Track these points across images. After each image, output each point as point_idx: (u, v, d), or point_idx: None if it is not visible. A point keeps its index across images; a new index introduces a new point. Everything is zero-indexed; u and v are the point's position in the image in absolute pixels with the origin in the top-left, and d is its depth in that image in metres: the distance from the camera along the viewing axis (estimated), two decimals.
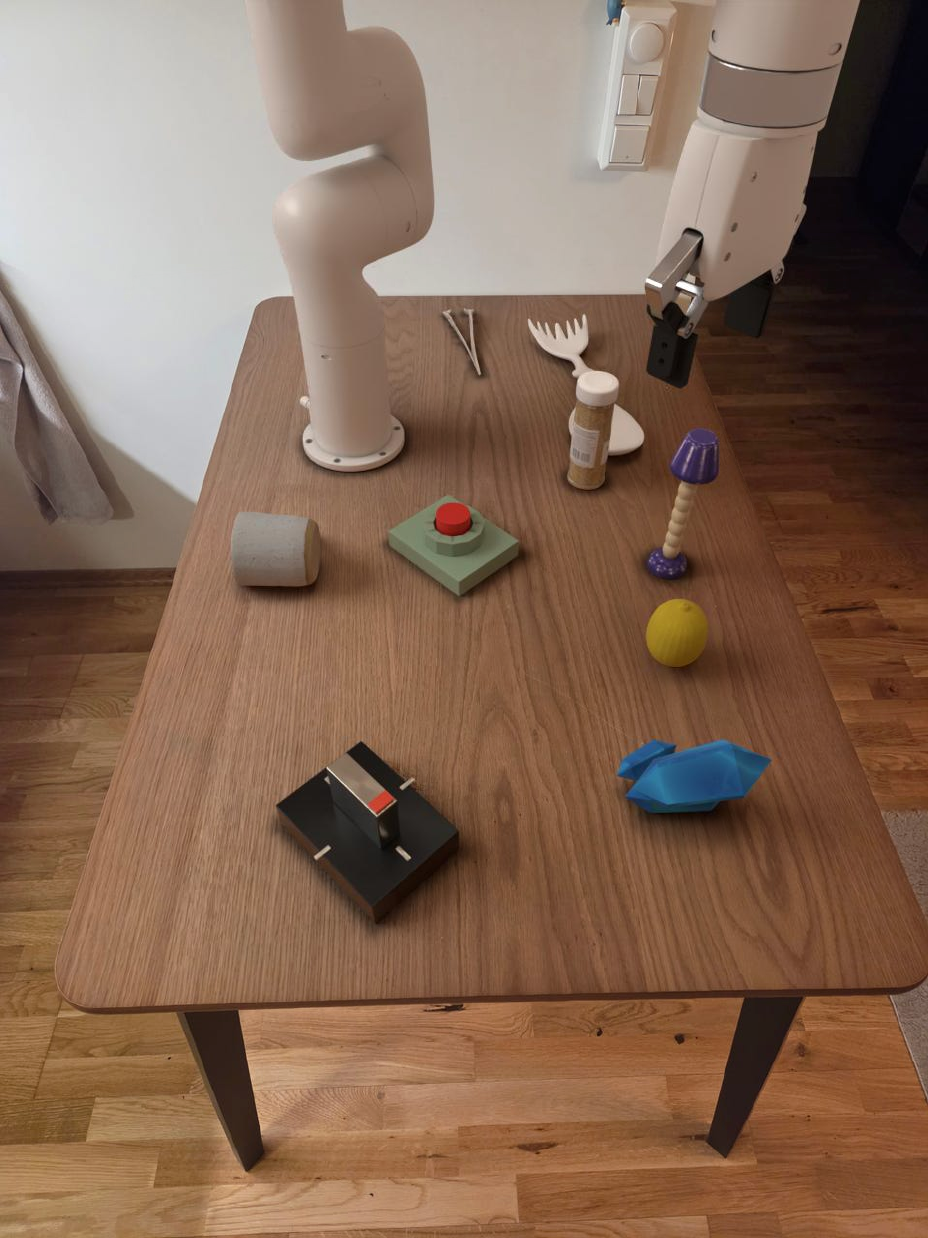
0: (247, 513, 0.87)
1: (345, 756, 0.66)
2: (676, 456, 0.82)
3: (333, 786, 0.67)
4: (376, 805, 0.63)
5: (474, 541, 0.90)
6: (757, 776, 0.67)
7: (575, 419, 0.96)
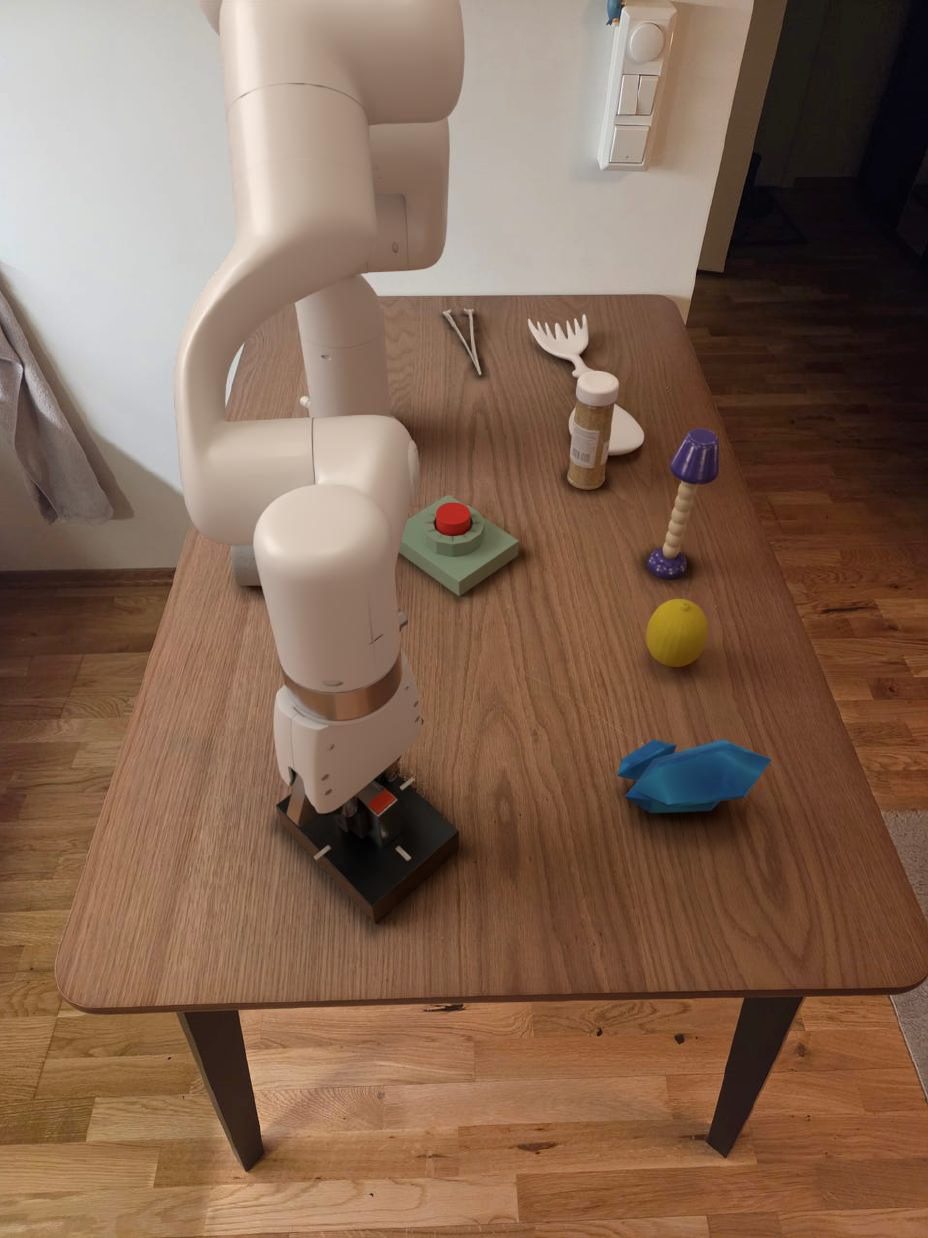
0: None
1: None
2: (676, 456, 0.82)
3: None
4: (377, 804, 0.63)
5: (474, 541, 0.90)
6: (757, 776, 0.67)
7: (575, 419, 0.96)
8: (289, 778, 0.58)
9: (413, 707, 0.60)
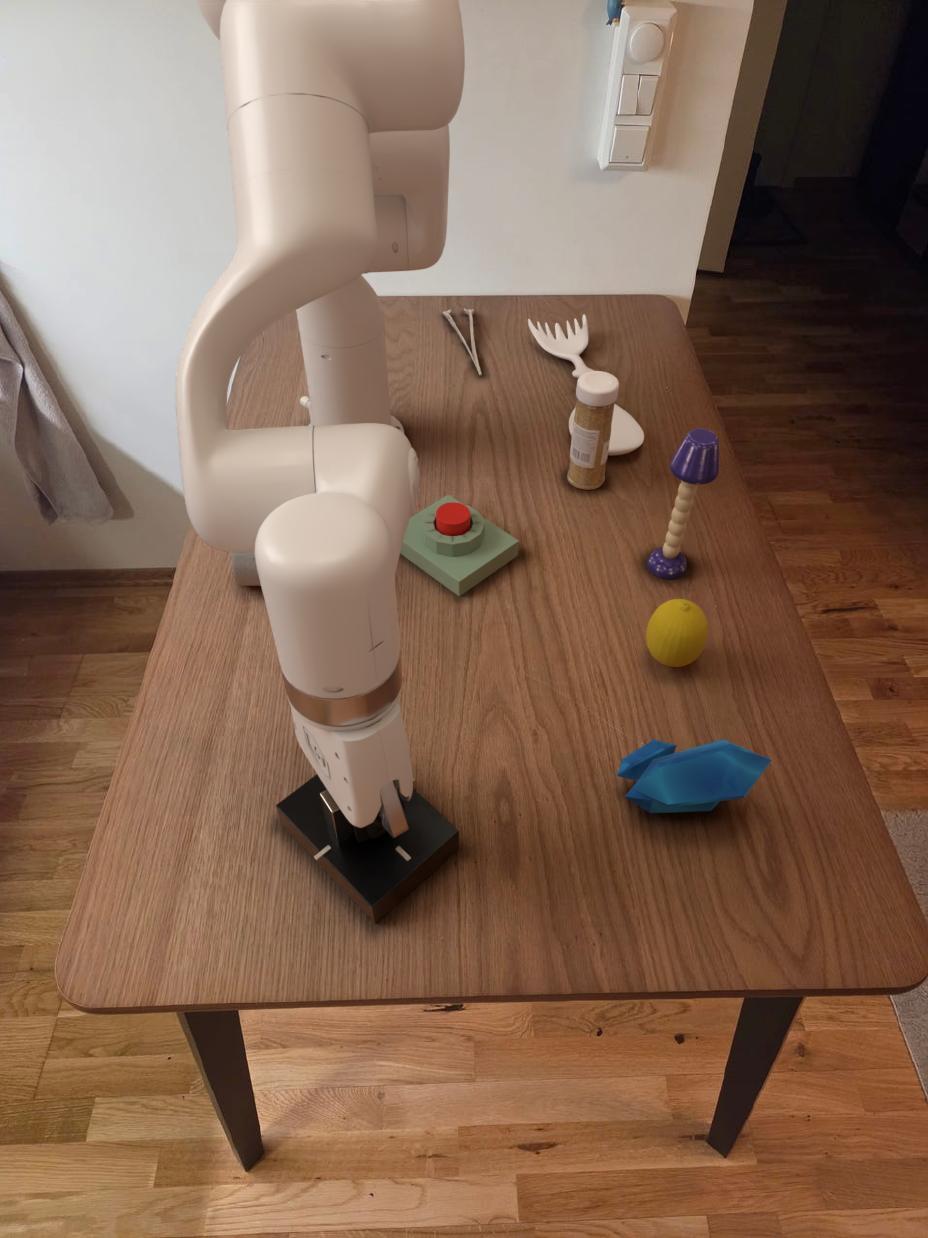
0: None
1: (324, 794, 0.64)
2: (676, 456, 0.82)
3: (341, 823, 0.65)
4: None
5: (474, 541, 0.90)
6: (757, 776, 0.67)
7: (575, 419, 0.96)
8: (379, 804, 0.58)
9: None
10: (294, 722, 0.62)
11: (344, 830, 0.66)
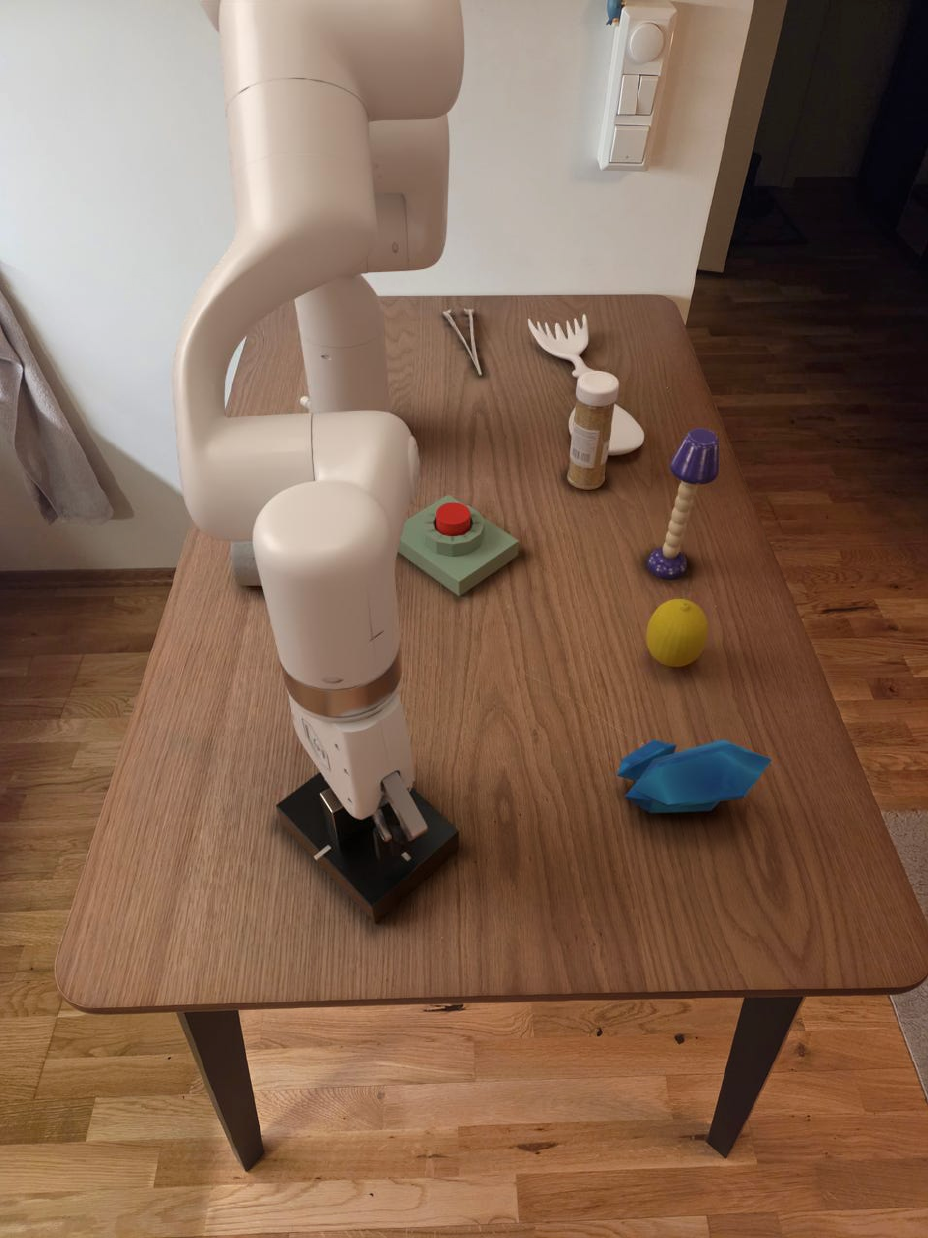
0: None
1: (324, 794, 0.64)
2: (676, 456, 0.82)
3: (341, 823, 0.65)
4: None
5: (474, 541, 0.90)
6: (757, 776, 0.67)
7: (575, 419, 0.96)
8: (380, 796, 0.57)
9: None
10: (292, 714, 0.62)
11: (344, 830, 0.66)
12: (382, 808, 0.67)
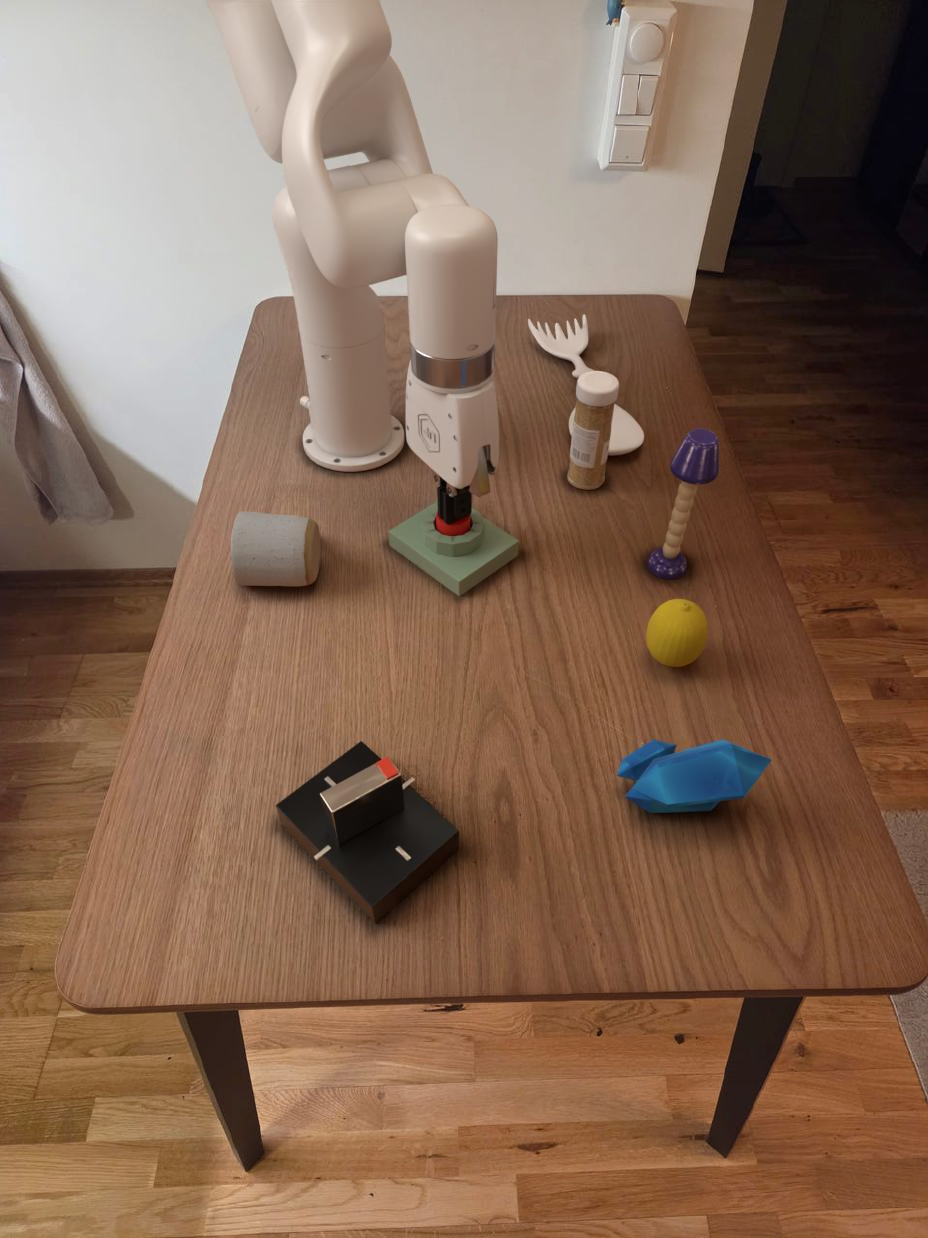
0: (247, 513, 0.87)
1: (324, 794, 0.64)
2: (676, 456, 0.82)
3: (341, 823, 0.65)
4: (391, 771, 0.65)
5: (474, 541, 0.90)
6: (757, 776, 0.67)
7: (575, 419, 0.96)
8: (476, 465, 0.80)
9: None
10: (407, 424, 0.84)
11: (344, 830, 0.66)
12: (382, 808, 0.67)
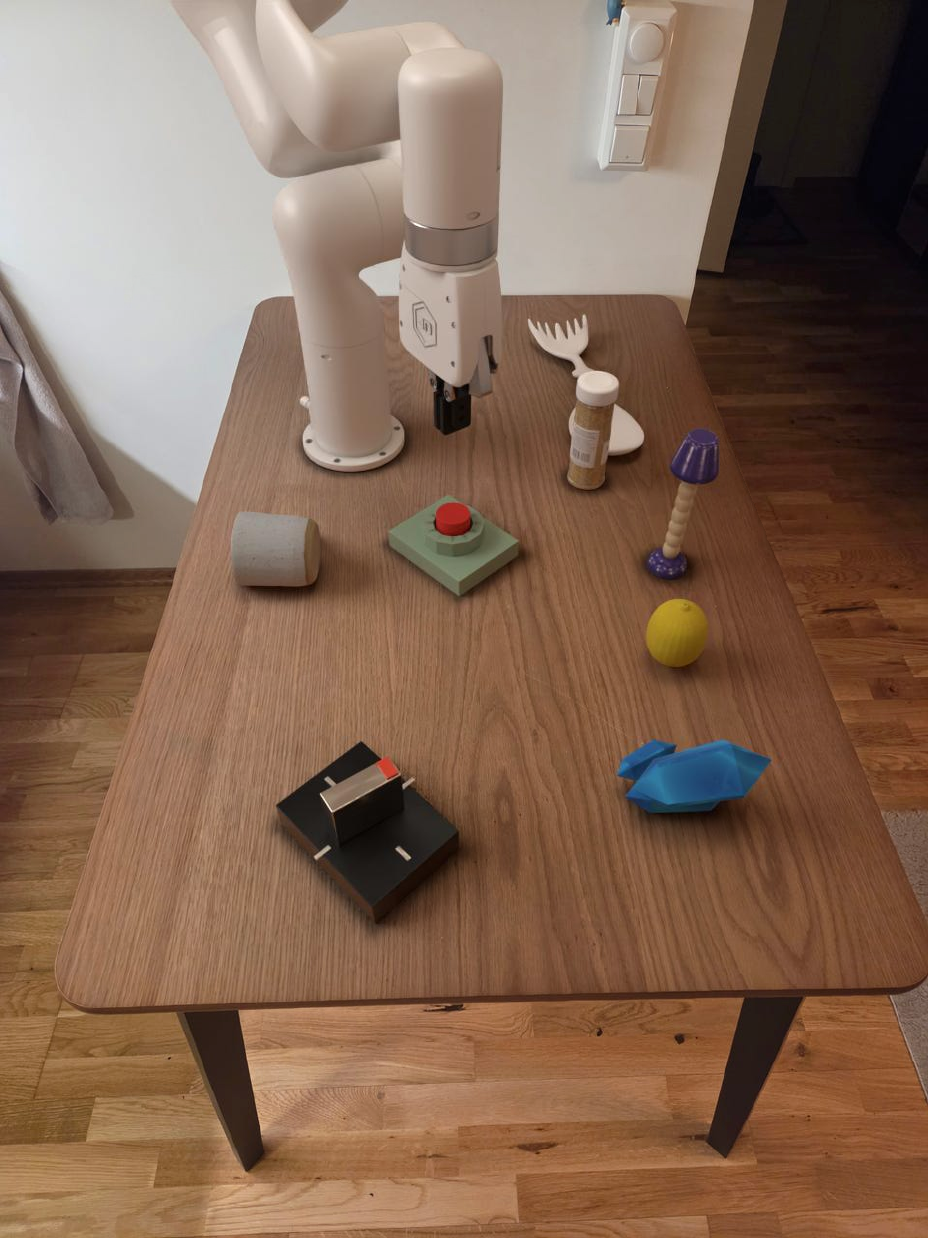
0: (247, 513, 0.87)
1: (324, 794, 0.64)
2: (676, 456, 0.82)
3: (341, 823, 0.65)
4: (391, 771, 0.65)
5: (474, 541, 0.90)
6: (757, 776, 0.67)
7: (575, 419, 0.96)
8: (477, 359, 0.72)
9: None
10: (400, 319, 0.76)
11: (344, 830, 0.66)
12: (382, 808, 0.67)
